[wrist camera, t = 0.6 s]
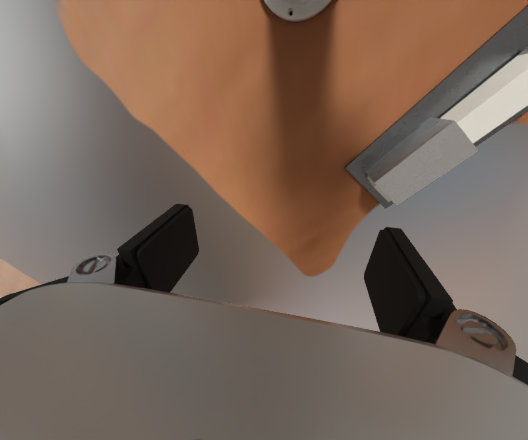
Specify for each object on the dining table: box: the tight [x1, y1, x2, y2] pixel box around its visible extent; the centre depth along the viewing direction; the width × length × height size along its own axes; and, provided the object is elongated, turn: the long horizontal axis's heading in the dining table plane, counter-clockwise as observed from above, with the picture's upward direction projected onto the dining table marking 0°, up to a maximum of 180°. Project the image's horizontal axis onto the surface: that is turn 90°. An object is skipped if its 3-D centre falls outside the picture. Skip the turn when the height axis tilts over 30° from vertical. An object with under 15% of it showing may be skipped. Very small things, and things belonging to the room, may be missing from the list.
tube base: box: [345, 5, 528, 208], centre depth 28 cm, size 39×12×7 cm, turn 140°
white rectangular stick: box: [367, 48, 528, 202], centre depth 31 cm, size 24×4×5 cm, turn 140°
